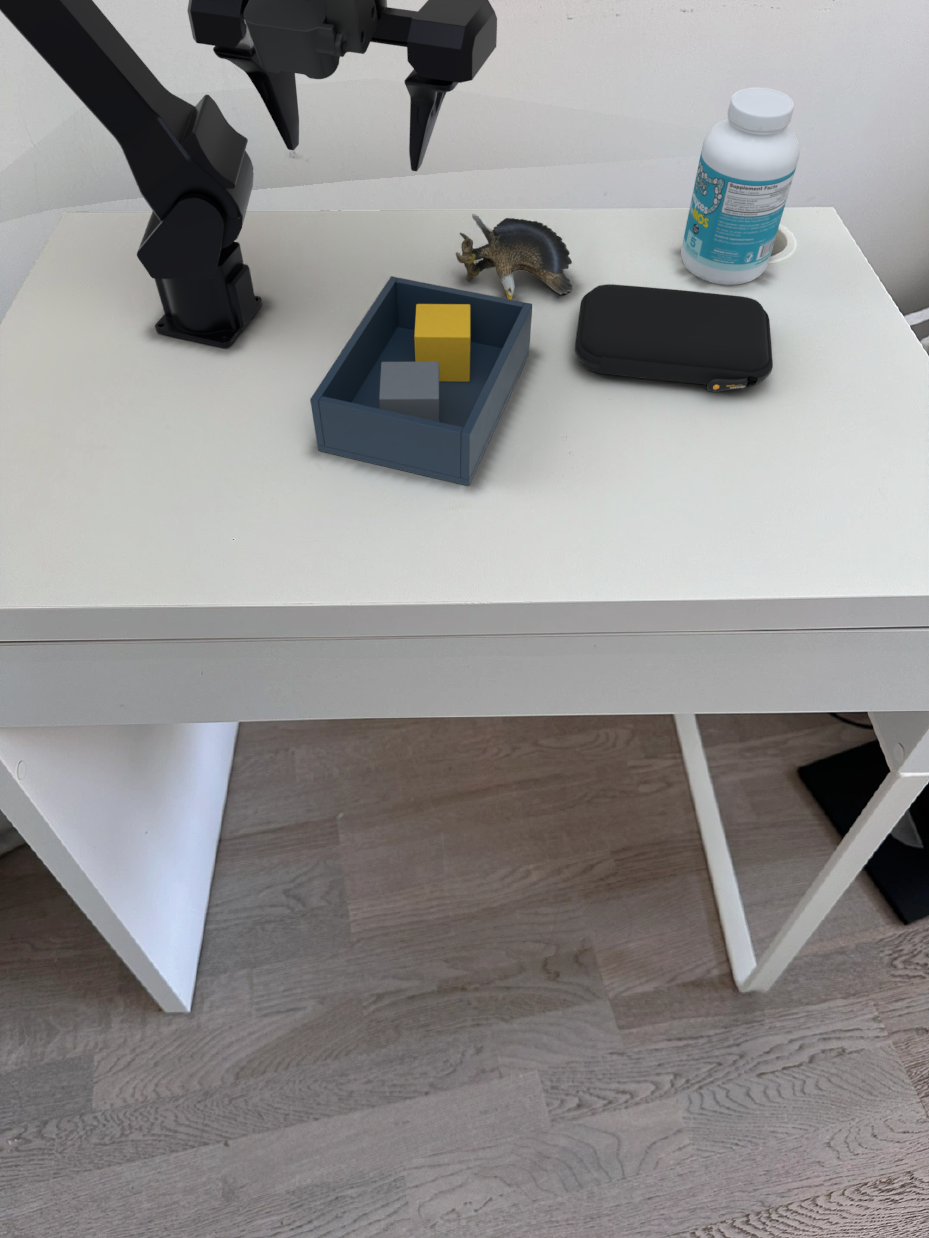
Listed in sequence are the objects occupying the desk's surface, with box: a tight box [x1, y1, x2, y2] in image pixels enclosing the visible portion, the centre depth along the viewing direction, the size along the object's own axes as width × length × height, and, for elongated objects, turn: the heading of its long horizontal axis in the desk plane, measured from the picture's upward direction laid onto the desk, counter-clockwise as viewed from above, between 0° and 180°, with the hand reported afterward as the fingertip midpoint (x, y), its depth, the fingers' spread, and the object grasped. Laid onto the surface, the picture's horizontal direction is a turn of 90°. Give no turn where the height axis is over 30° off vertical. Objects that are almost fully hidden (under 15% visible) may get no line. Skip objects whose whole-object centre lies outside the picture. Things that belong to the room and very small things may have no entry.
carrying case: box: [574, 283, 774, 393], centre depth 72 cm, size 11×3×15 cm
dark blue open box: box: [309, 276, 533, 487], centre depth 68 cm, size 11×15×5 cm
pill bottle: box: [680, 86, 801, 286], centre depth 75 cm, size 8×7×14 cm
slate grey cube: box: [379, 362, 440, 422], centre depth 65 cm, size 4×4×4 cm
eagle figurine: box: [455, 213, 574, 300], centre depth 76 cm, size 8×7×9 cm
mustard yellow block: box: [414, 304, 470, 382], centre depth 70 cm, size 4×4×4 cm
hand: (354, 158), depth 65 cm, fingers open, 9 cm apart
